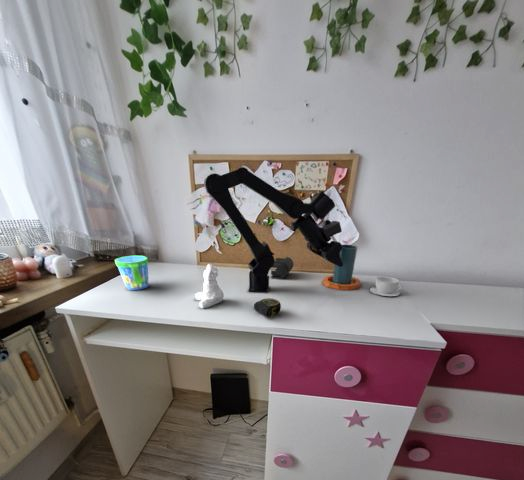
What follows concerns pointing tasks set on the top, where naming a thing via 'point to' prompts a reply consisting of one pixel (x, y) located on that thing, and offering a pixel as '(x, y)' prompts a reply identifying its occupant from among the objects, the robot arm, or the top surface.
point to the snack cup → (133, 271)
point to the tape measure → (268, 307)
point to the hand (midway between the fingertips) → (336, 262)
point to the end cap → (281, 267)
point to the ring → (341, 286)
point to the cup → (345, 265)
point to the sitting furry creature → (210, 289)
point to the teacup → (386, 286)
